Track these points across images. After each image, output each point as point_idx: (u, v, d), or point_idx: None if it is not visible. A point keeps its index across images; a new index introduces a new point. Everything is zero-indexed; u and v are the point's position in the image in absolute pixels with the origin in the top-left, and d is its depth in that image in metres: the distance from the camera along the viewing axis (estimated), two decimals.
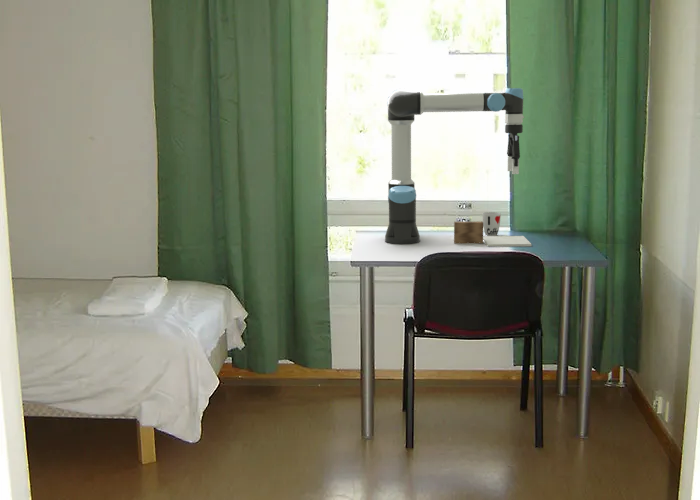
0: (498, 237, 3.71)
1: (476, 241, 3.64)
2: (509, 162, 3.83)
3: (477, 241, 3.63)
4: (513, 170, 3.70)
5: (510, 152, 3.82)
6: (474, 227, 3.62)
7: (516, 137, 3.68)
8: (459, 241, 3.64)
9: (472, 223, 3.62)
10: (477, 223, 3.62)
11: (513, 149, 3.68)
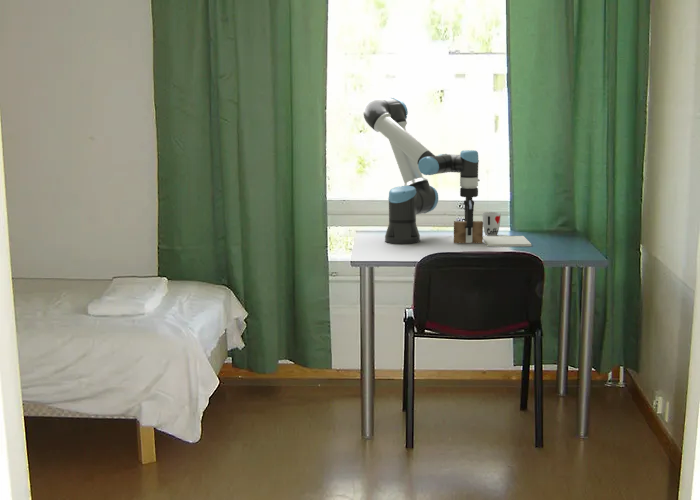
0: (498, 237, 3.71)
1: (476, 241, 3.63)
2: None
3: (477, 241, 3.63)
4: (466, 239, 3.63)
5: None
6: (474, 227, 3.62)
7: (470, 207, 3.56)
8: (459, 241, 3.64)
9: None
10: (477, 223, 3.62)
11: (467, 217, 3.59)
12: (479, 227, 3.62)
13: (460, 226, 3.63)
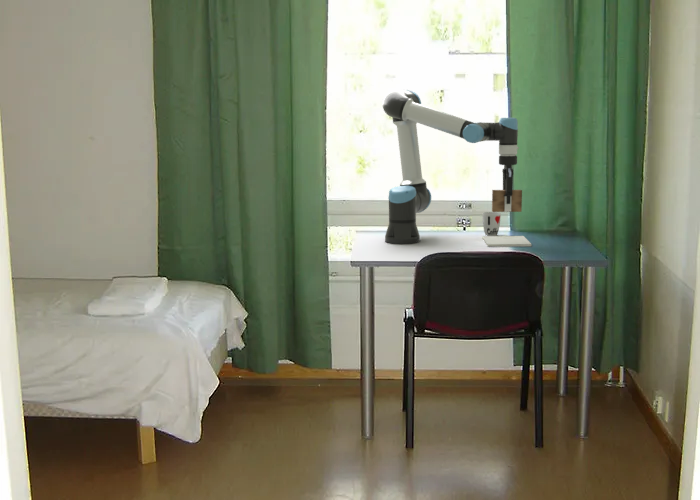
0: (498, 237, 3.71)
1: (514, 209, 3.59)
2: None
3: (516, 209, 3.59)
4: (505, 207, 3.59)
5: None
6: (513, 195, 3.58)
7: (510, 174, 3.52)
8: (497, 209, 3.60)
9: None
10: (516, 191, 3.58)
11: (506, 185, 3.55)
12: (518, 195, 3.58)
13: (499, 194, 3.59)
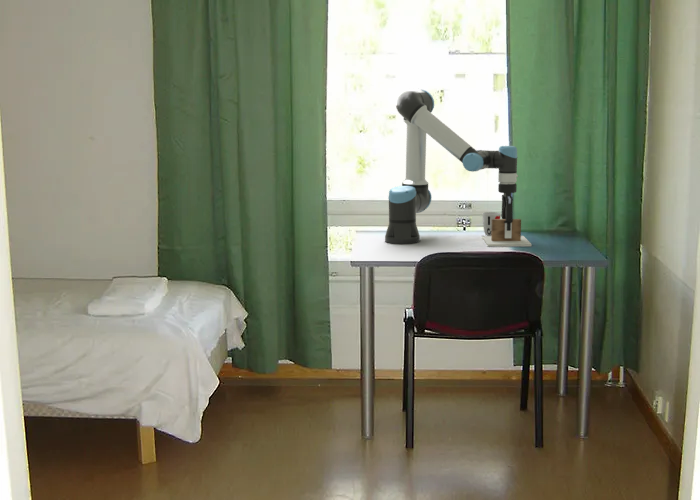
0: None
1: (514, 239, 3.62)
2: None
3: (515, 239, 3.62)
4: (506, 234, 3.58)
5: (504, 214, 3.65)
6: (512, 224, 3.61)
7: (509, 200, 3.54)
8: (497, 239, 3.62)
9: None
10: (515, 220, 3.60)
11: (506, 212, 3.55)
12: (517, 225, 3.61)
13: (498, 224, 3.61)
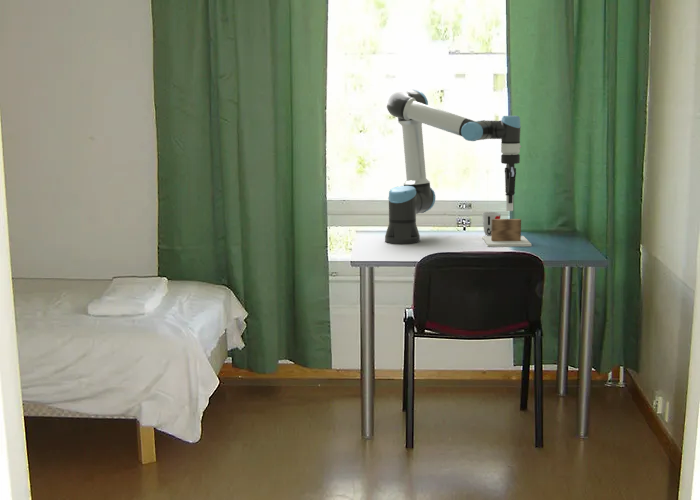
0: None
1: (514, 239, 3.62)
2: None
3: (515, 239, 3.62)
4: (507, 207, 3.54)
5: None
6: (512, 224, 3.61)
7: (512, 174, 3.47)
8: (497, 239, 3.62)
9: (510, 220, 3.61)
10: (515, 220, 3.60)
11: (508, 184, 3.50)
12: (517, 225, 3.61)
13: (498, 224, 3.61)
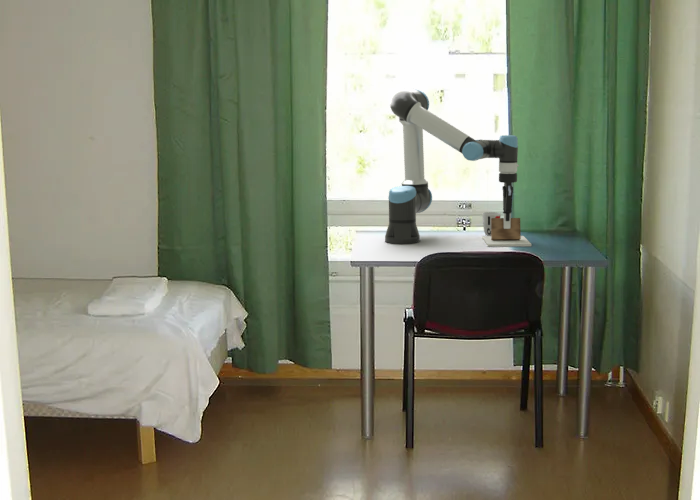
0: None
1: (514, 237, 3.62)
2: None
3: (515, 237, 3.62)
4: (505, 225, 3.61)
5: None
6: (511, 222, 3.63)
7: (509, 193, 3.53)
8: (497, 237, 3.62)
9: None
10: (514, 218, 3.63)
11: (505, 203, 3.56)
12: (516, 223, 3.62)
13: (497, 222, 3.63)
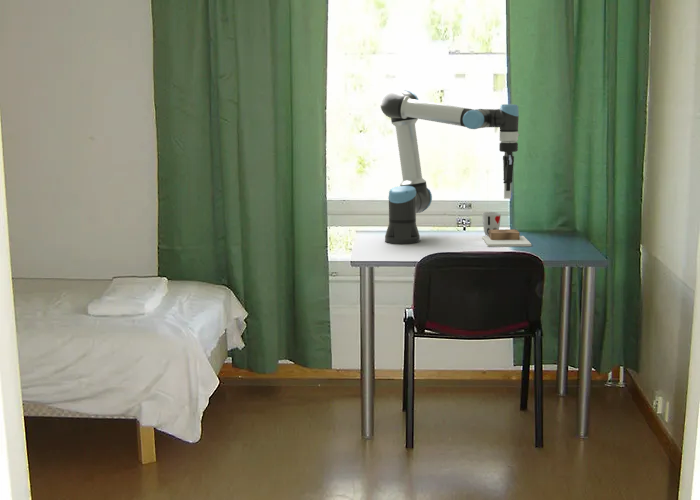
0: None
1: (512, 232, 3.65)
2: None
3: (513, 232, 3.65)
4: (505, 194, 3.59)
5: None
6: (508, 230, 3.71)
7: (510, 162, 3.51)
8: (495, 232, 3.66)
9: (506, 229, 3.73)
10: (510, 229, 3.73)
11: (506, 172, 3.54)
12: (513, 230, 3.71)
13: (495, 230, 3.72)
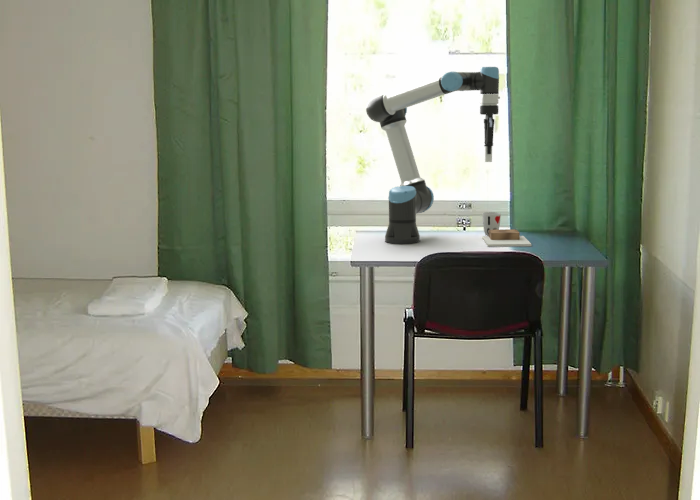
0: None
1: (512, 232, 3.65)
2: None
3: (513, 232, 3.65)
4: (486, 158, 3.58)
5: None
6: (508, 230, 3.71)
7: (490, 125, 3.50)
8: (495, 232, 3.66)
9: (506, 229, 3.73)
10: (510, 229, 3.73)
11: (487, 135, 3.53)
12: (513, 230, 3.71)
13: (495, 230, 3.72)
